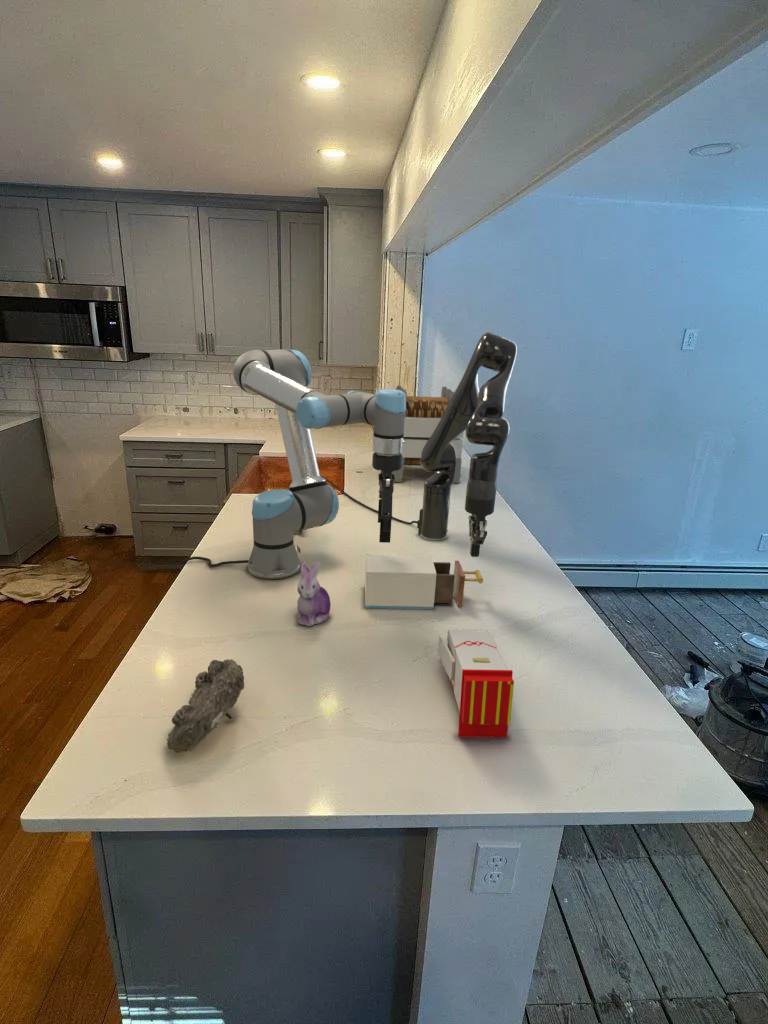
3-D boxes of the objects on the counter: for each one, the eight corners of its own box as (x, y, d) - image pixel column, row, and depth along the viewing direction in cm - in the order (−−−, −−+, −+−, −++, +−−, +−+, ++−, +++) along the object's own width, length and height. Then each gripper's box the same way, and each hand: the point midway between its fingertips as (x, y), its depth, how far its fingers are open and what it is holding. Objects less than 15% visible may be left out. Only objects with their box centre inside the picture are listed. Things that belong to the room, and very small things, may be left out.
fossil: (192, 660, 117) (244, 628, 112) (224, 691, 120) (276, 661, 115) (142, 746, 98) (202, 712, 93) (182, 779, 101) (242, 748, 96)
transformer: (382, 463, 289) (386, 382, 275) (445, 464, 293) (451, 384, 279) (390, 482, 257) (394, 392, 243) (460, 483, 261) (468, 394, 247)
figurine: (302, 631, 137) (302, 575, 132) (289, 611, 146) (288, 558, 141) (338, 623, 142) (339, 568, 137) (323, 604, 150) (323, 552, 145)
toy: (488, 613, 130) (523, 677, 101) (484, 667, 133) (517, 744, 104) (435, 612, 130) (455, 676, 101) (432, 666, 133) (451, 743, 103)
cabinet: (428, 589, 161) (431, 555, 157) (433, 609, 151) (436, 573, 147) (364, 588, 160) (366, 554, 156) (365, 608, 150) (366, 571, 146)
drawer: (475, 588, 161) (478, 561, 158) (482, 606, 152) (486, 576, 149) (396, 587, 160) (398, 559, 157) (398, 604, 150) (400, 574, 147)
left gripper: (406, 467, 130) (401, 551, 137) (399, 441, 153) (395, 515, 160) (373, 465, 129) (370, 550, 137) (371, 440, 153) (368, 514, 160)
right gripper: (501, 502, 140) (493, 566, 146) (489, 486, 152) (483, 546, 158) (471, 502, 139) (464, 566, 145) (462, 486, 152) (456, 545, 158)
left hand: (383, 531), depth 149 cm, fingers open, 13 cm apart
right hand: (474, 555), depth 152 cm, fingers closed
